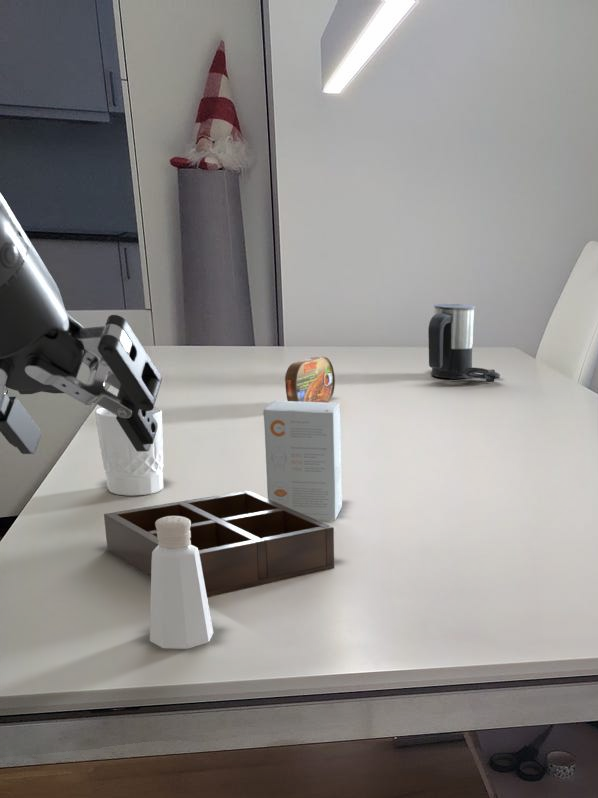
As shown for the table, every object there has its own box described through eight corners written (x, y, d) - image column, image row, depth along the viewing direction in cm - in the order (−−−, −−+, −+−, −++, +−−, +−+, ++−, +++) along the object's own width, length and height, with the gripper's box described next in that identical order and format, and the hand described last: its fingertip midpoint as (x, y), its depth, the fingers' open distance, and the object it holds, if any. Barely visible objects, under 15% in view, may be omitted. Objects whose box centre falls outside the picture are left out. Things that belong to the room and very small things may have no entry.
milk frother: (435, 371, 230) (436, 302, 225) (505, 376, 229) (508, 306, 223) (423, 381, 217) (424, 308, 212) (497, 386, 216) (500, 312, 210)
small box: (342, 507, 128) (341, 402, 123) (335, 522, 123) (333, 412, 117) (277, 504, 128) (273, 399, 123) (267, 519, 122) (262, 409, 117)
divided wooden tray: (184, 602, 97) (180, 557, 95) (107, 555, 108) (103, 513, 107) (334, 568, 108) (334, 527, 106) (250, 528, 119) (248, 490, 117)
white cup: (157, 498, 128) (150, 418, 125) (94, 496, 128) (85, 415, 125) (175, 482, 136) (169, 406, 132) (115, 480, 136) (107, 403, 132)
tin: (298, 414, 181) (297, 364, 177) (282, 412, 181) (281, 363, 178) (336, 400, 194) (336, 354, 190) (321, 398, 195) (320, 352, 191)
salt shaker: (136, 649, 87) (123, 523, 83) (174, 626, 92) (164, 506, 87) (190, 660, 85) (181, 533, 81) (227, 637, 90) (220, 515, 86)
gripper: (95, 205, 59) (197, 400, 73) (-130, 217, 61) (11, 405, 75) (59, 299, 55) (174, 485, 69) (-179, 309, 57) (-21, 487, 71)
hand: (89, 443), depth 72 cm, fingers open, 8 cm apart
